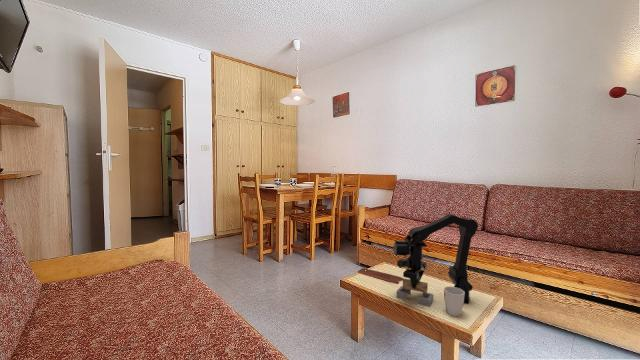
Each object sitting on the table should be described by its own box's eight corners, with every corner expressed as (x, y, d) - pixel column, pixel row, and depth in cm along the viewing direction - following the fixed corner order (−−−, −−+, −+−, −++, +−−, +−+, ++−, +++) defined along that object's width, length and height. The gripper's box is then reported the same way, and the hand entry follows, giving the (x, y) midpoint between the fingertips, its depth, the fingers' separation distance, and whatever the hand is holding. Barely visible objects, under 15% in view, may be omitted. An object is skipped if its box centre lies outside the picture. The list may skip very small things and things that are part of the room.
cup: (448, 306, 122) (449, 284, 122) (467, 314, 116) (468, 291, 115) (439, 311, 117) (440, 289, 117) (458, 320, 111) (459, 296, 110)
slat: (427, 290, 128) (427, 282, 128) (426, 293, 125) (426, 285, 125) (403, 285, 133) (404, 278, 133) (402, 288, 130) (402, 281, 130)
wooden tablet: (404, 279, 153) (404, 277, 152) (397, 285, 145) (397, 282, 145) (363, 268, 169) (363, 265, 169) (355, 273, 161) (355, 270, 161)
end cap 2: (433, 300, 127) (433, 294, 127) (429, 306, 121) (429, 300, 121) (423, 297, 130) (423, 291, 130) (418, 303, 124) (419, 297, 124)
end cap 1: (396, 296, 130) (396, 290, 130) (401, 291, 136) (401, 285, 136) (406, 299, 128) (406, 293, 128) (410, 294, 134) (410, 288, 134)
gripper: (405, 247, 140) (404, 276, 141) (392, 256, 125) (392, 289, 126) (427, 251, 134) (426, 282, 135) (416, 261, 119) (416, 296, 119)
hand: (415, 286), depth 129 cm, fingers closed on slat, 4 cm apart
